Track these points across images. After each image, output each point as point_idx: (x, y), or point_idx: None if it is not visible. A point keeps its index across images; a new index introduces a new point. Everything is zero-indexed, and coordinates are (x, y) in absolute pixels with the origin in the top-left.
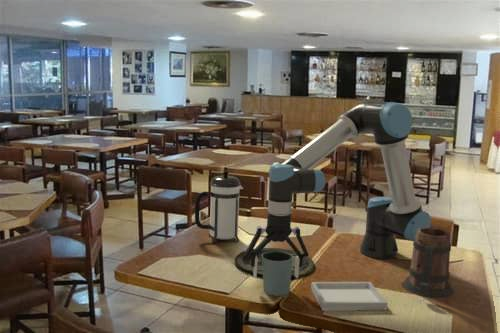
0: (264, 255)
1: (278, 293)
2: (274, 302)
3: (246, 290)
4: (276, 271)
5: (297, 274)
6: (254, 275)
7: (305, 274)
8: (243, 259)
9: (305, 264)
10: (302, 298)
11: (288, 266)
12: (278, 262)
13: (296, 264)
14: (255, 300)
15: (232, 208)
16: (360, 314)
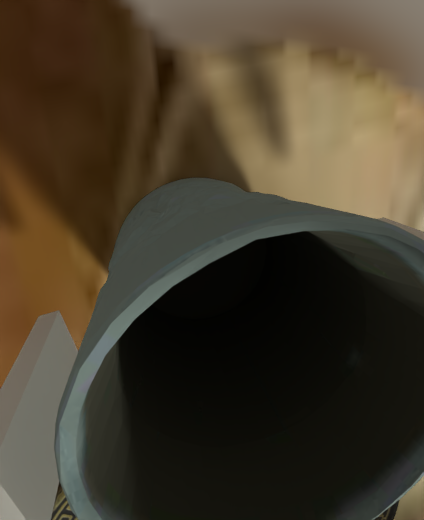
0: (416, 426)
1: (179, 180)
2: (192, 70)
3: (357, 214)
4: (248, 199)
5: (38, 330)
6: (394, 222)
7: (58, 487)
8: None
9: None
10: (8, 181)
11: (112, 285)
12: (277, 214)
13: (31, 409)
14: (312, 80)
15: None
16: None
